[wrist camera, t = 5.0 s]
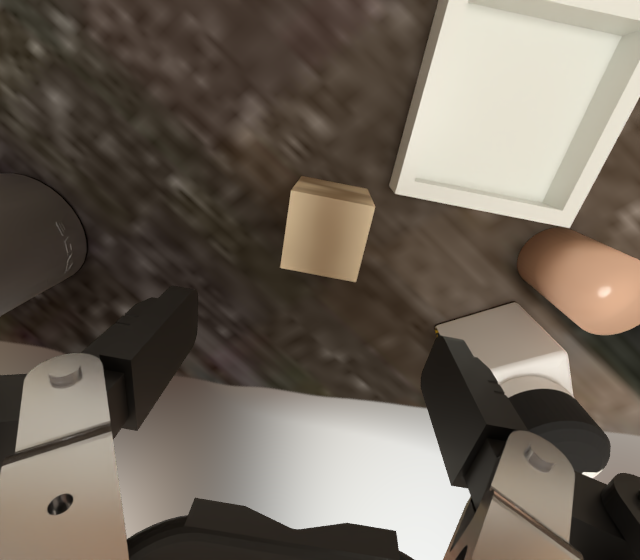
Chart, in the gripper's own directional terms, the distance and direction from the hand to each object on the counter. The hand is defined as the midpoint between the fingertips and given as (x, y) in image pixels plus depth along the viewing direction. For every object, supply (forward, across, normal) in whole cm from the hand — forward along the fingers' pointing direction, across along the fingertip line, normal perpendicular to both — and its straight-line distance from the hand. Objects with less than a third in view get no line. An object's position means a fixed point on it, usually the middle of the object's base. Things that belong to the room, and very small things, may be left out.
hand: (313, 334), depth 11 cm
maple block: (+16, 0, 0) cm, 16 cm away
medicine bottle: (+16, -16, +9) cm, 25 cm away
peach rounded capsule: (+16, -18, 0) cm, 24 cm away
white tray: (+16, -10, -9) cm, 21 cm away
